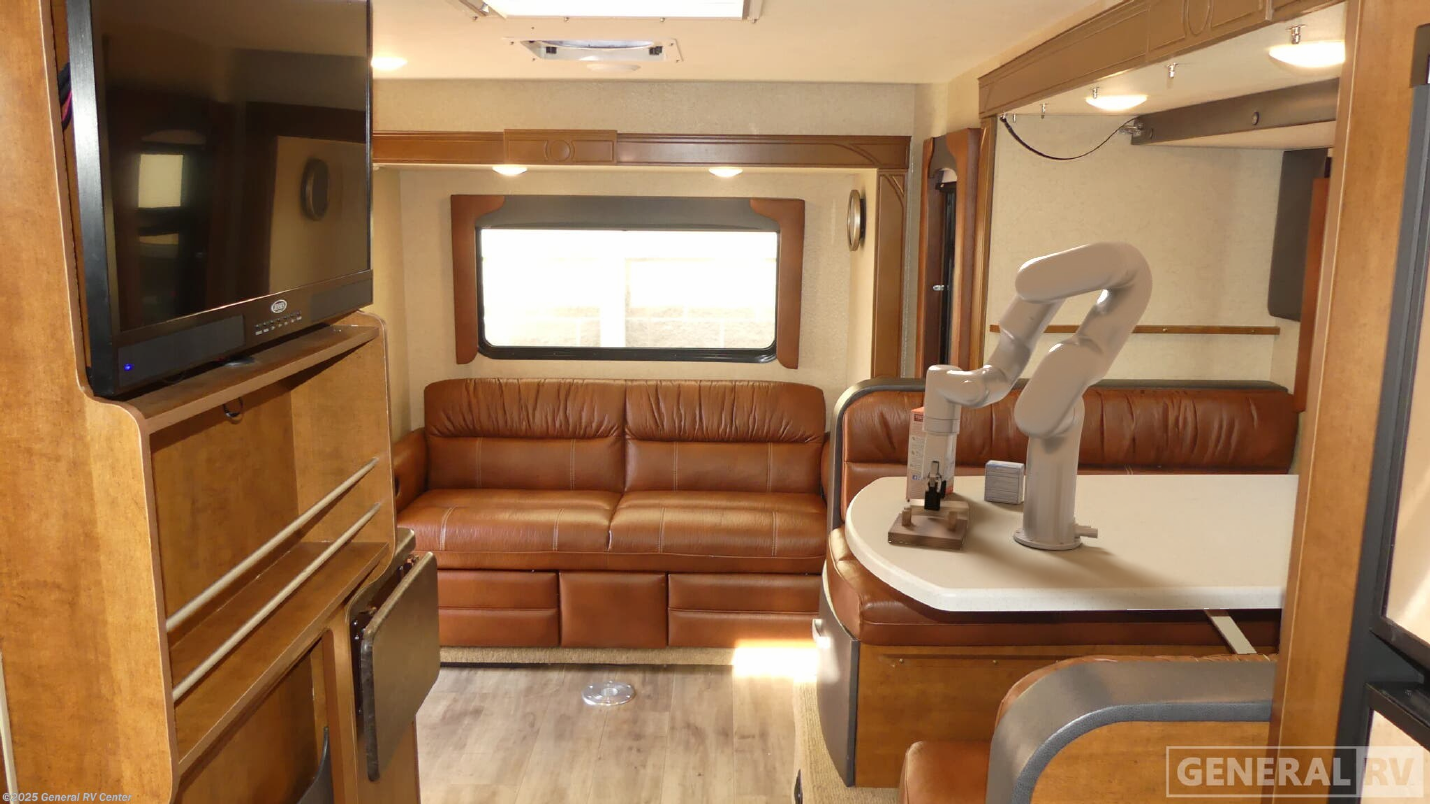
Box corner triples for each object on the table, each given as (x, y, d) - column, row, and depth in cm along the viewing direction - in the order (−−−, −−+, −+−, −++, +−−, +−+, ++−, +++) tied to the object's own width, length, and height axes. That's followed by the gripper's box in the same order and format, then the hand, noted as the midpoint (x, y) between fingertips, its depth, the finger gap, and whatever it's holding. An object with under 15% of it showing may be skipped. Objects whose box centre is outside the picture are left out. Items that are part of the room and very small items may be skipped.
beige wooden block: (966, 520, 215) (967, 501, 214) (967, 526, 210) (968, 508, 209) (909, 516, 217) (909, 498, 216) (909, 523, 212) (910, 505, 212)
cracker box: (929, 505, 225) (933, 412, 222) (904, 500, 229) (908, 409, 225) (955, 492, 236) (959, 404, 233) (931, 488, 240) (935, 401, 236)
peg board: (967, 529, 207) (968, 505, 206) (960, 549, 194) (961, 524, 193) (899, 522, 212) (900, 499, 211) (887, 541, 199) (888, 517, 198)
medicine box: (1023, 500, 229) (1025, 463, 228) (1019, 505, 226) (1021, 467, 224) (987, 496, 233) (989, 459, 232) (983, 500, 229) (985, 463, 228)
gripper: (928, 415, 219) (922, 491, 223) (917, 431, 203) (910, 512, 207) (963, 418, 217) (957, 495, 220) (955, 435, 201) (948, 517, 204)
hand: (934, 503), depth 214 cm, fingers open, 9 cm apart
